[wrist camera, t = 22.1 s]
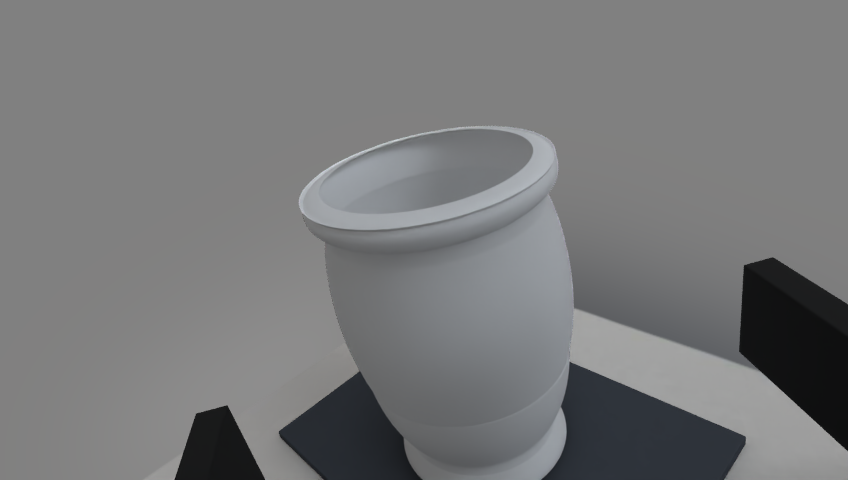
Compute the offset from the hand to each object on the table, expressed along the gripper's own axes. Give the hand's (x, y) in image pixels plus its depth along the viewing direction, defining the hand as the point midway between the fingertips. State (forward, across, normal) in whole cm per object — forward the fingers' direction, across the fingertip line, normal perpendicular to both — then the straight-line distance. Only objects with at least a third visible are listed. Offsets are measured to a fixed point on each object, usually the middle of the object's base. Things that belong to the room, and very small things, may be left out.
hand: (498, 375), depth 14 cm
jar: (+10, 0, -13) cm, 16 cm away
